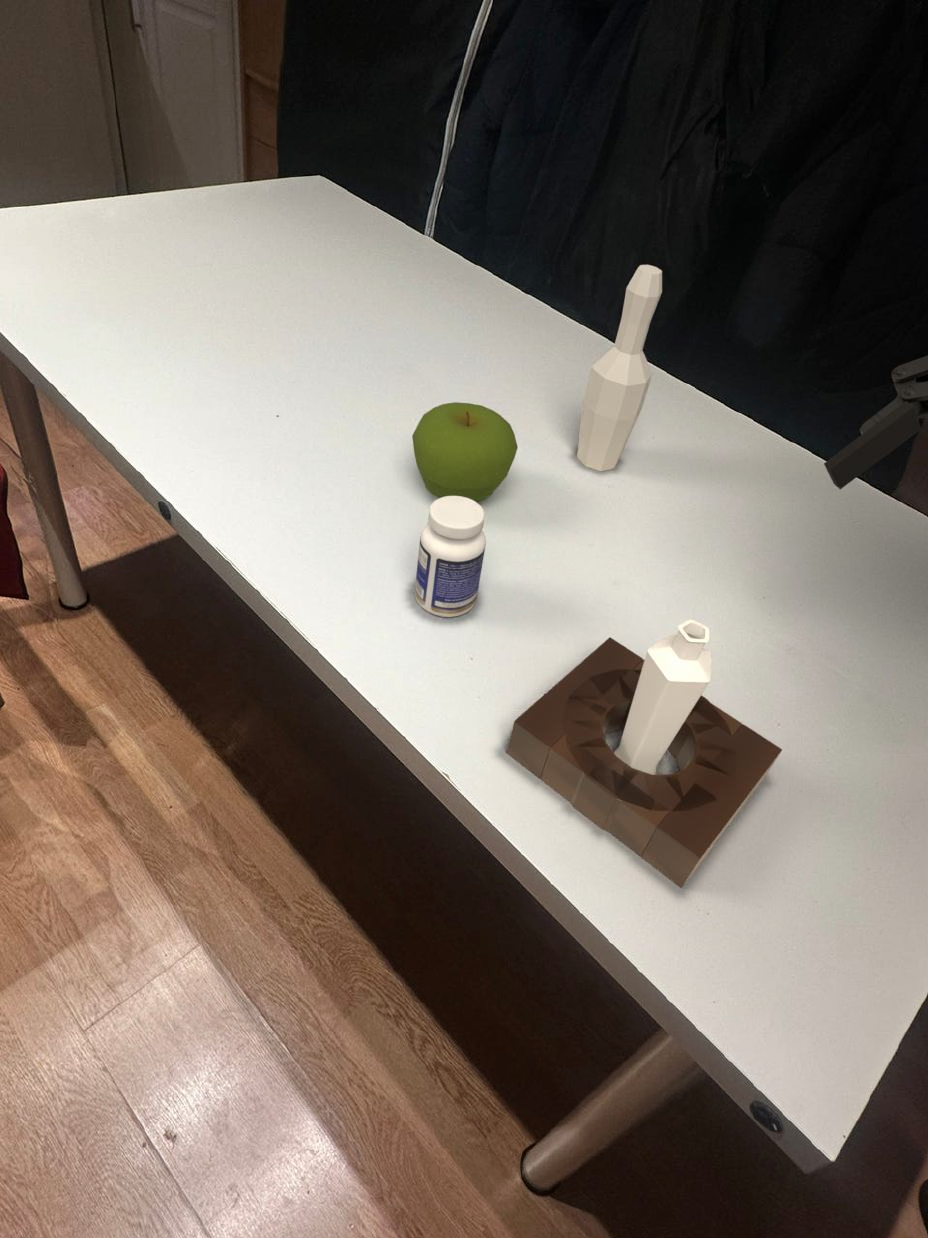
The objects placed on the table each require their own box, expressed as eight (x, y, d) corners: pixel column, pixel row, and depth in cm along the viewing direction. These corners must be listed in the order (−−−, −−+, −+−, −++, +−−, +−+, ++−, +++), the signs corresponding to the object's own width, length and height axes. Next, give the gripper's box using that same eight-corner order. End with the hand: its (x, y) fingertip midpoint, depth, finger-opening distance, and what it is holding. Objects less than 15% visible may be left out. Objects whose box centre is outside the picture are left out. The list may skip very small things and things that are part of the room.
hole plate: (763, 778, 65) (783, 748, 62) (680, 890, 57) (698, 861, 54) (599, 667, 72) (610, 635, 69) (504, 753, 64) (512, 721, 61)
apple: (440, 536, 82) (452, 451, 75) (388, 479, 88) (394, 395, 81) (526, 508, 87) (544, 426, 80) (471, 456, 93) (484, 376, 86)
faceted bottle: (559, 455, 95) (605, 263, 80) (592, 438, 99) (642, 251, 84) (602, 481, 92) (657, 288, 77) (635, 463, 96) (694, 274, 81)
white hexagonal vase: (637, 800, 62) (701, 668, 52) (596, 761, 64) (649, 626, 54) (675, 771, 65) (744, 639, 54) (634, 734, 67) (692, 600, 56)
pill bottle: (487, 594, 77) (503, 508, 70) (455, 628, 73) (469, 541, 66) (434, 569, 78) (445, 482, 71) (401, 601, 75) (410, 513, 68)
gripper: (1430, 460, 43) (1049, 696, 49) (1052, 267, 59) (800, 460, 65) (1472, 371, 38) (1039, 648, 43) (1044, 186, 54) (770, 404, 60)
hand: (895, 536), depth 54 cm, fingers open, 13 cm apart
